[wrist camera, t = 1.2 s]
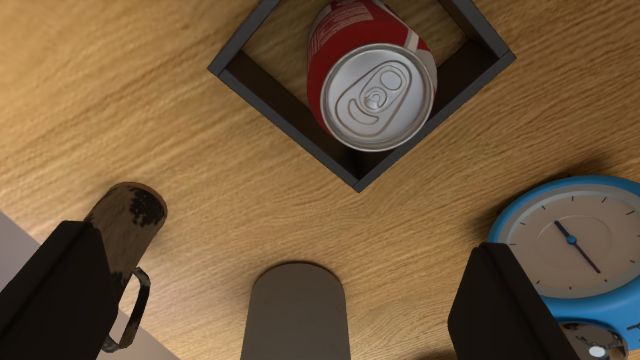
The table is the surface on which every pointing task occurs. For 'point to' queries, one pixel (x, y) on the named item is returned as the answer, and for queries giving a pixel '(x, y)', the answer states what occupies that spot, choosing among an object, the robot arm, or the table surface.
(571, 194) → the alarm clock
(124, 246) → the mug
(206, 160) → the table surface
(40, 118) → the table surface
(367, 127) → the soda can
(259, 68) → the bin
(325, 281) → the water bottle
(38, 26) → the table surface
